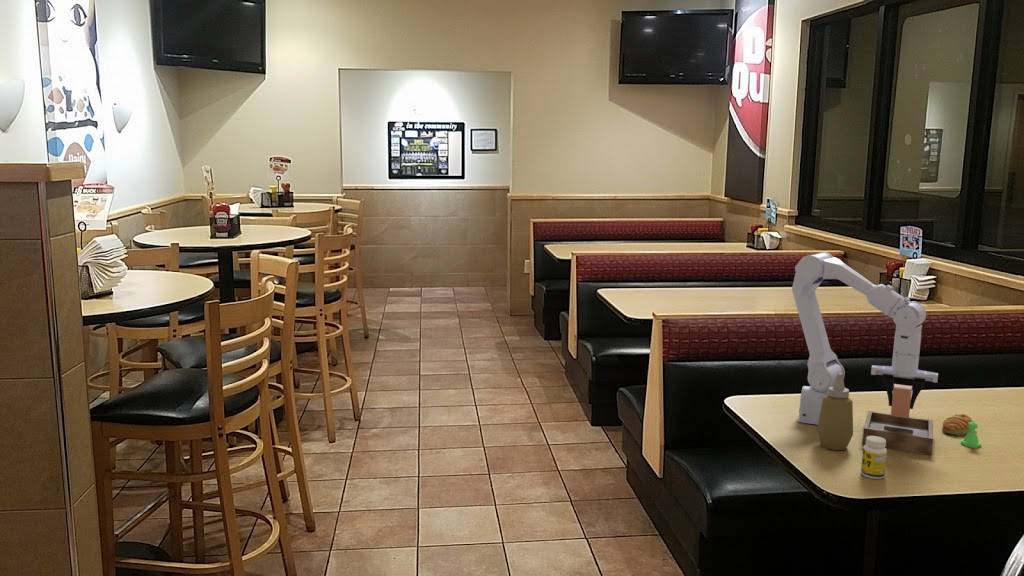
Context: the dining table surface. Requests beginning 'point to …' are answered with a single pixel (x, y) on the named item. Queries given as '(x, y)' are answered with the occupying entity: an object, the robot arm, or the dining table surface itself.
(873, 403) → the dining table surface
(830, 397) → the squeeze bottle
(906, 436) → the socket box
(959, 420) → the pastry
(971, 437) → the game piece
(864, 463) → the supplement bottle
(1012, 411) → the dining table surface
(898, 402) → the peg
